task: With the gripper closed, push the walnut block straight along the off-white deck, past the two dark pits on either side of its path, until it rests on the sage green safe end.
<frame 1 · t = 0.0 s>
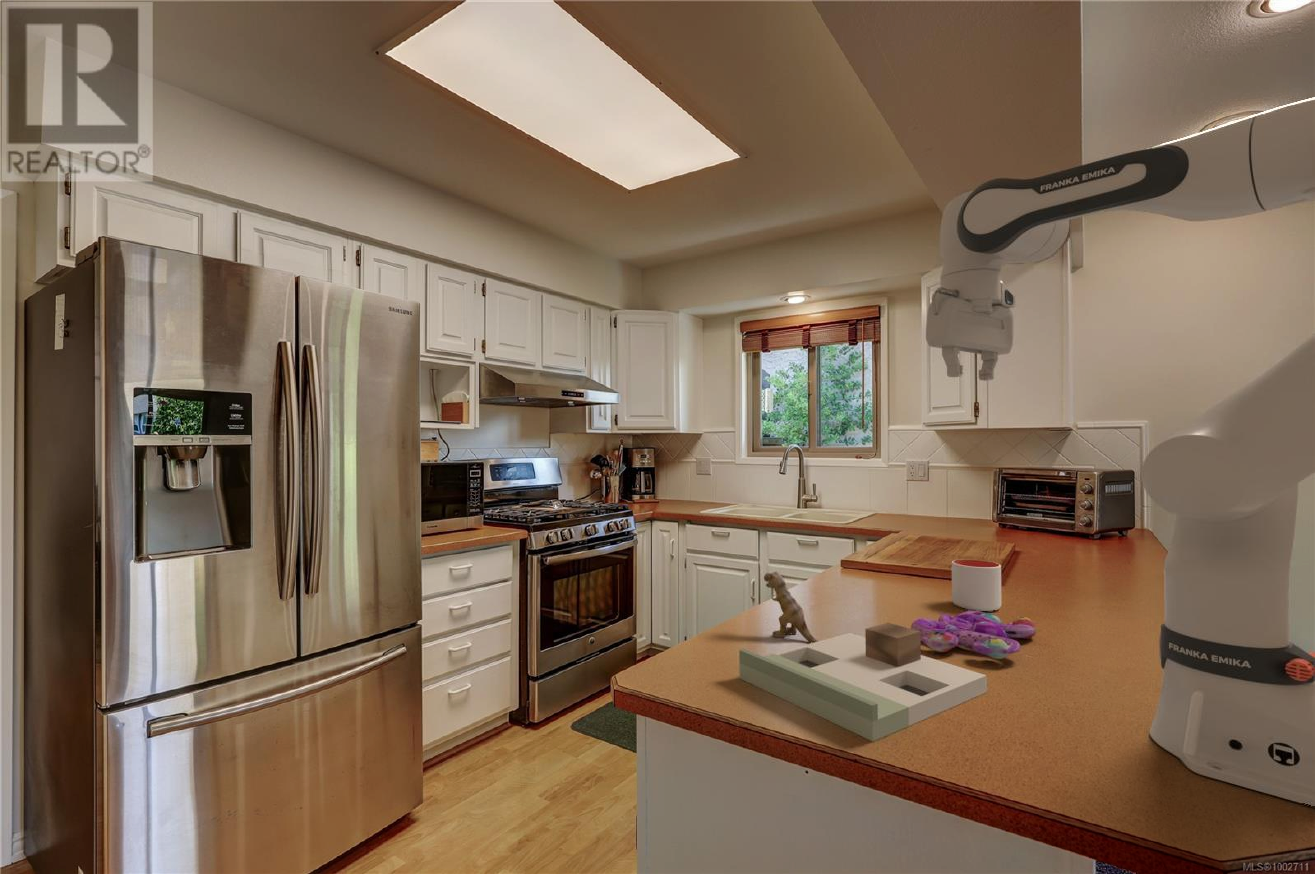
hand: (970, 378, 99), 48 cm above the counter, tool pointing down, fingers open, 8 cm apart
walnut block: (892, 657, 99), point 2 cm above the counter, touching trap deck
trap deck: (859, 685, 94), on the counter
toy: (797, 638, 117), on the counter
cup: (976, 608, 139), on the counter
decorative sculpture: (976, 644, 114), on the counter
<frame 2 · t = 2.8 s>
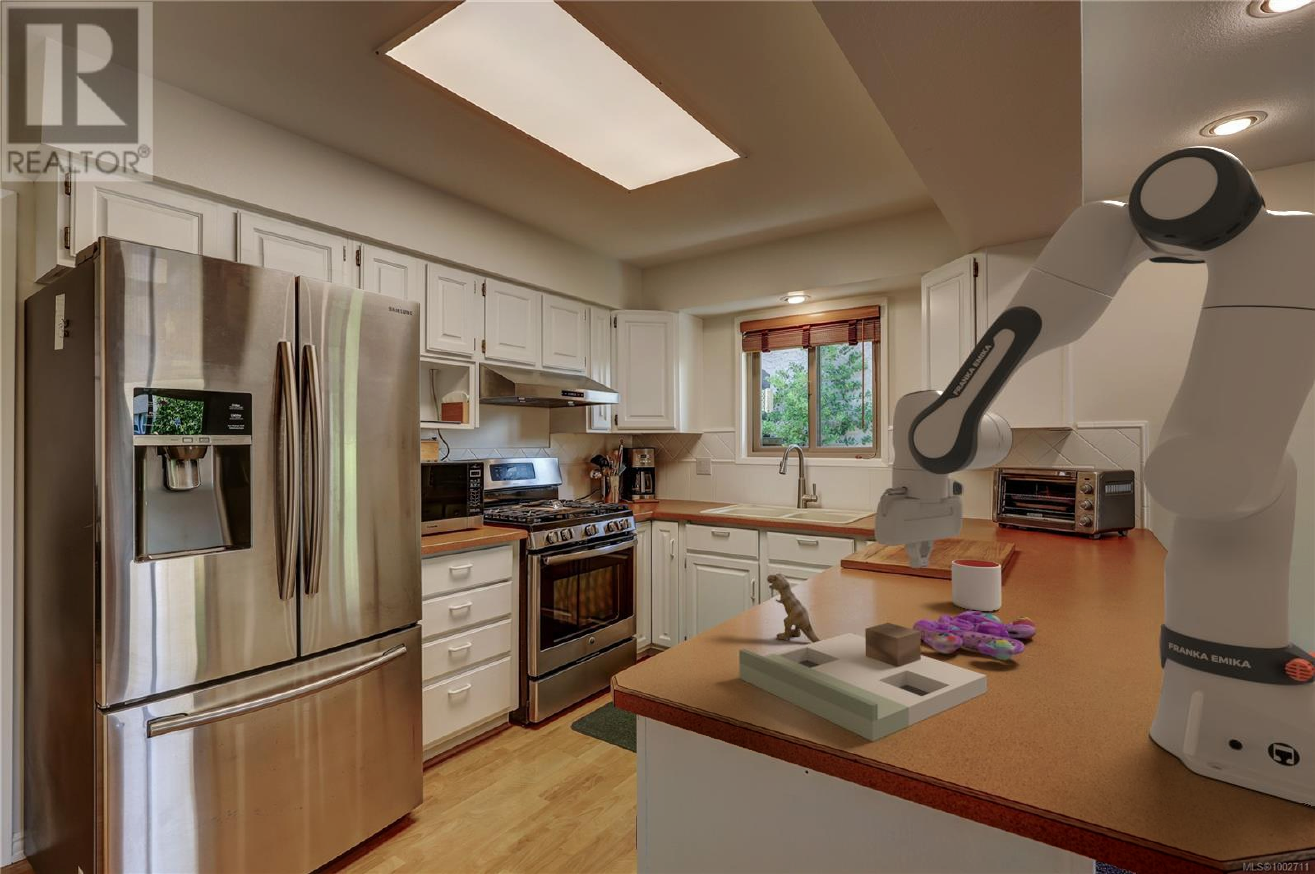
hand: (919, 567, 103), 16 cm above the counter, tool pointing down, fingers closed
toy: (801, 640, 116), on the counter, touching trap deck
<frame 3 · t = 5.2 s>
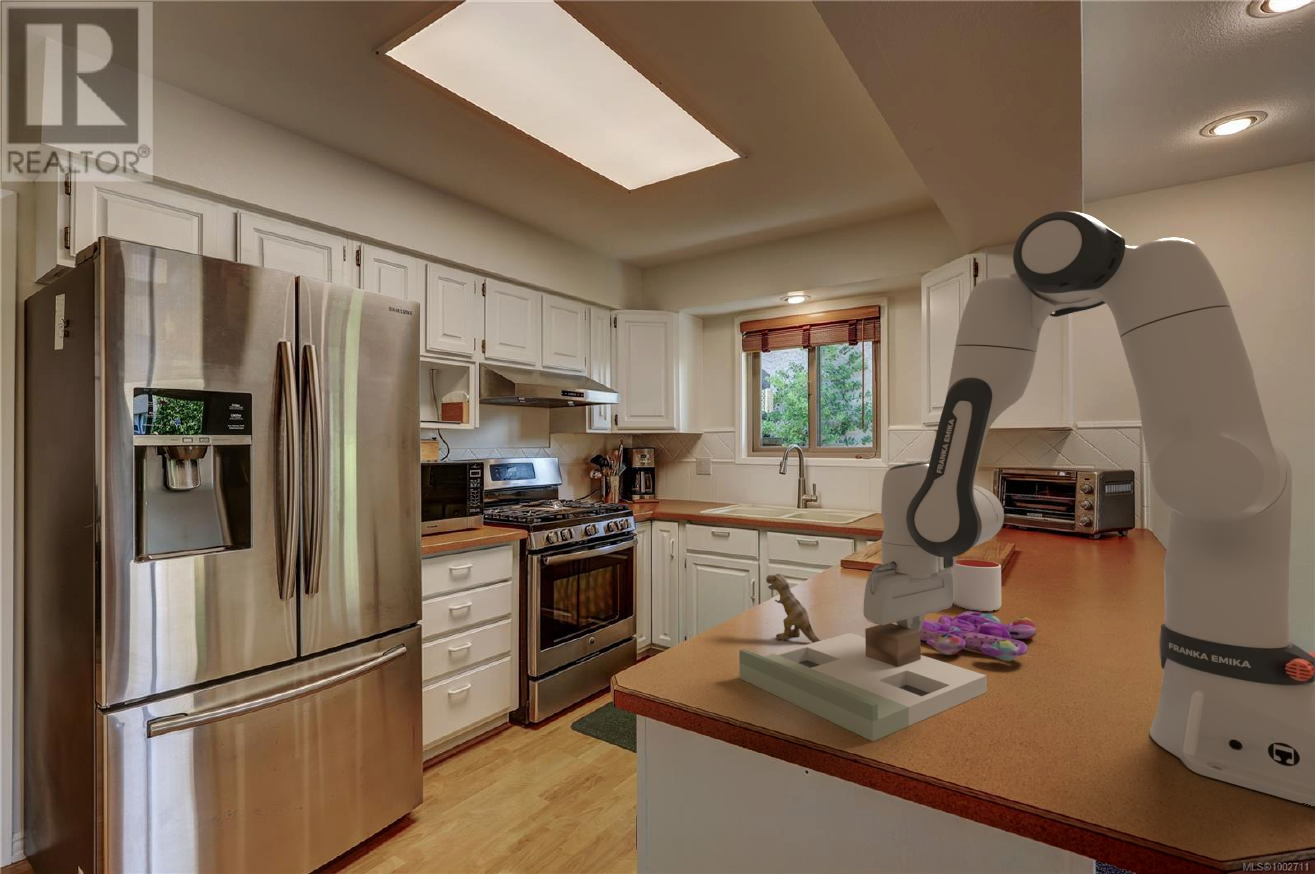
hand: (910, 642, 101), 4 cm above the counter, tool pointing down, fingers closed
walnut block: (892, 657, 99), point 3 cm above the counter, touching gripper, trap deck
toy: (801, 640, 116), on the counter
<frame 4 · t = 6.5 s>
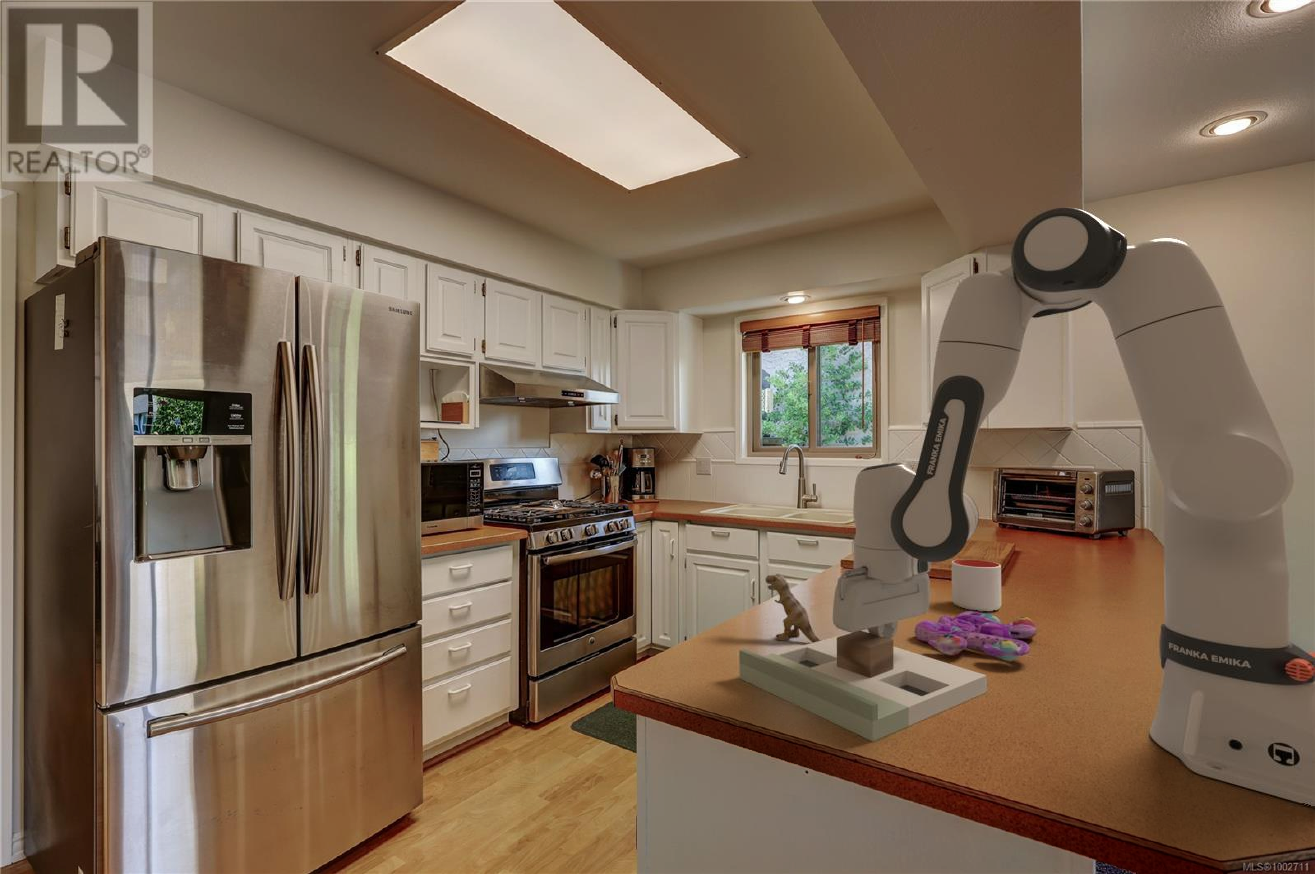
hand: (882, 649, 97), 4 cm above the counter, tool pointing down, fingers closed
walnut block: (864, 667, 94), point 3 cm above the counter, touching gripper, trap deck
toy: (800, 641, 116), on the counter, touching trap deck
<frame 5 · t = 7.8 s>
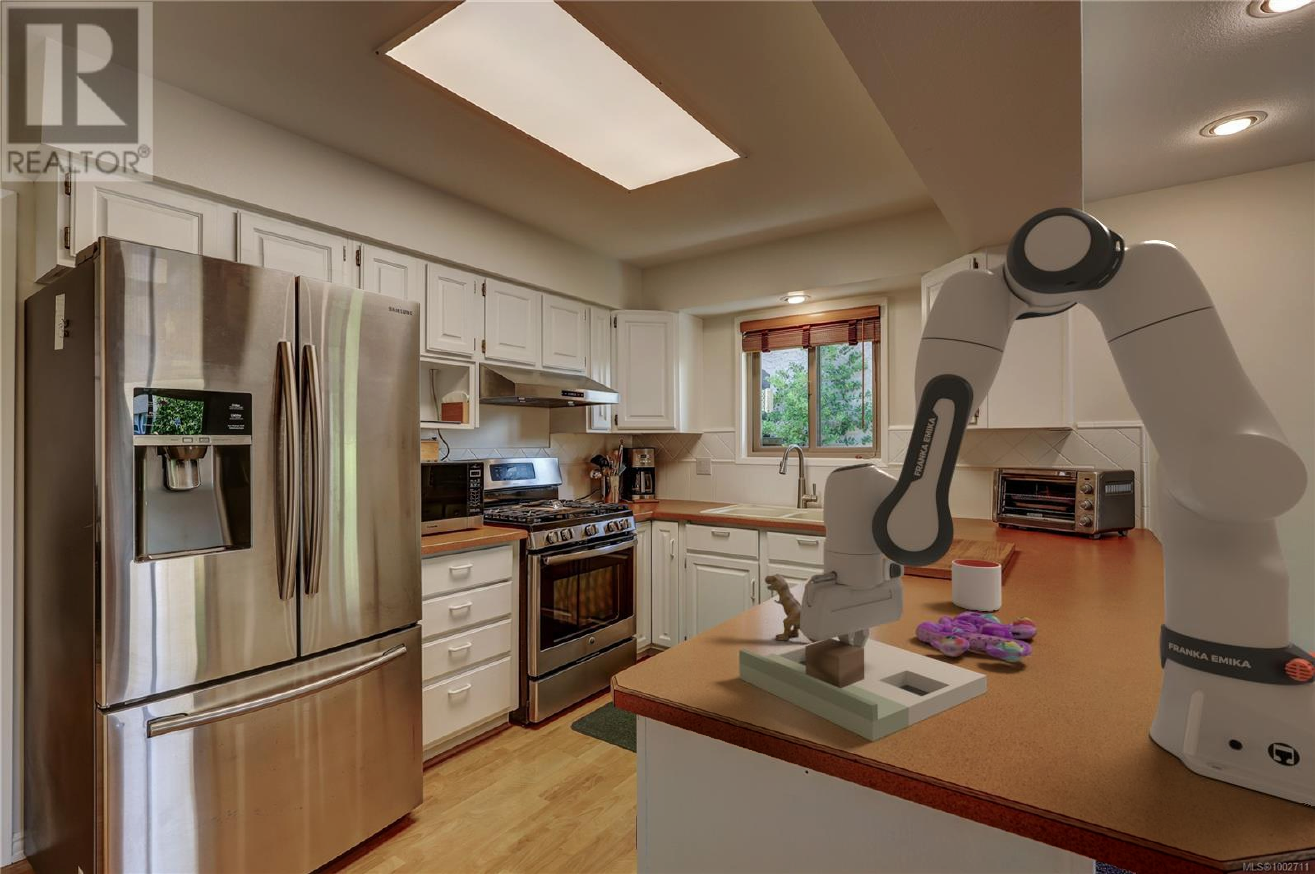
hand: (853, 658, 94), 4 cm above the counter, tool pointing down, fingers closed
walnut block: (834, 677, 90), point 3 cm above the counter, touching gripper, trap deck
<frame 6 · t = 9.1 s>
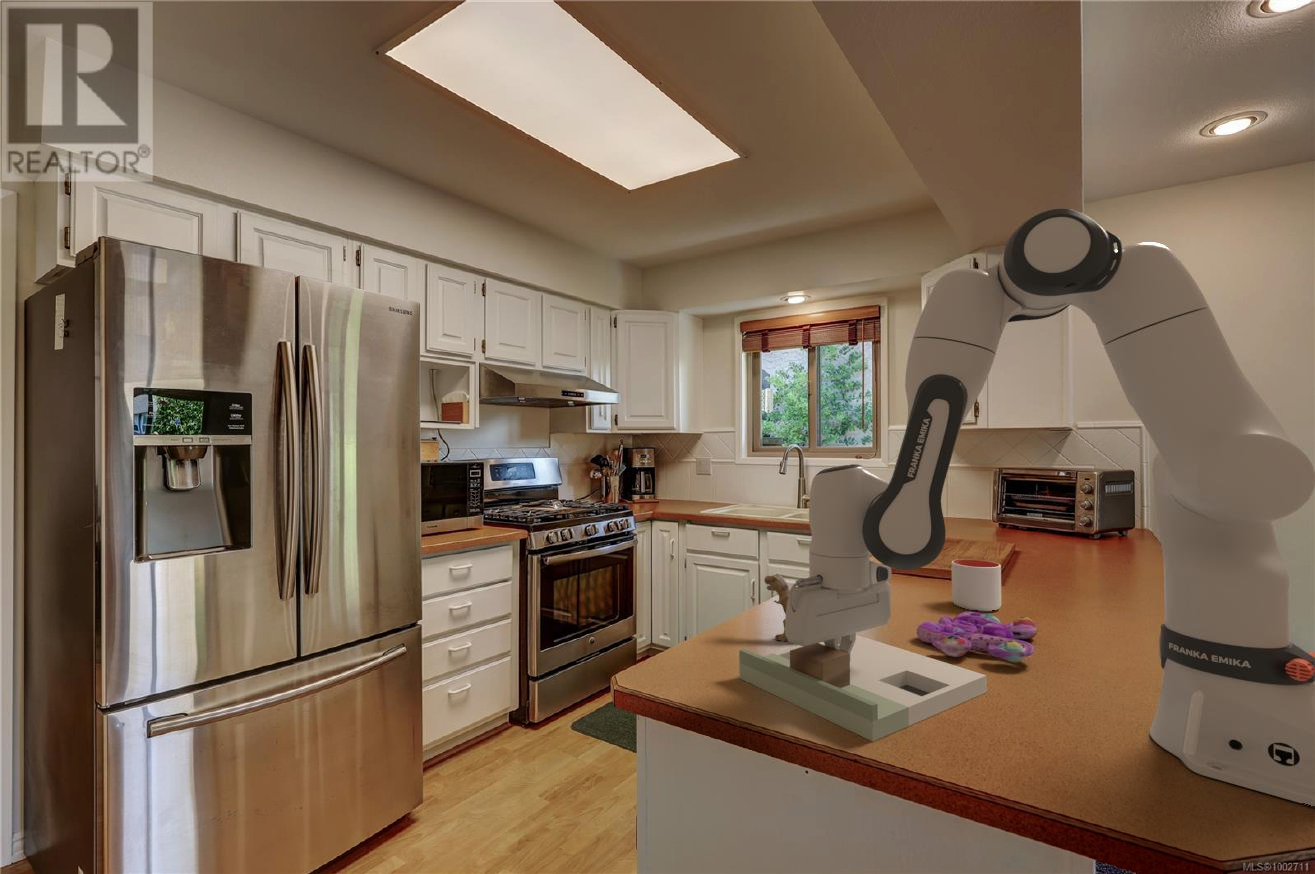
hand: (839, 663, 92), 4 cm above the counter, tool pointing down, fingers closed
walnut block: (819, 683, 88), point 2 cm above the counter, touching gripper, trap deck
toy: (800, 641, 116), on the counter
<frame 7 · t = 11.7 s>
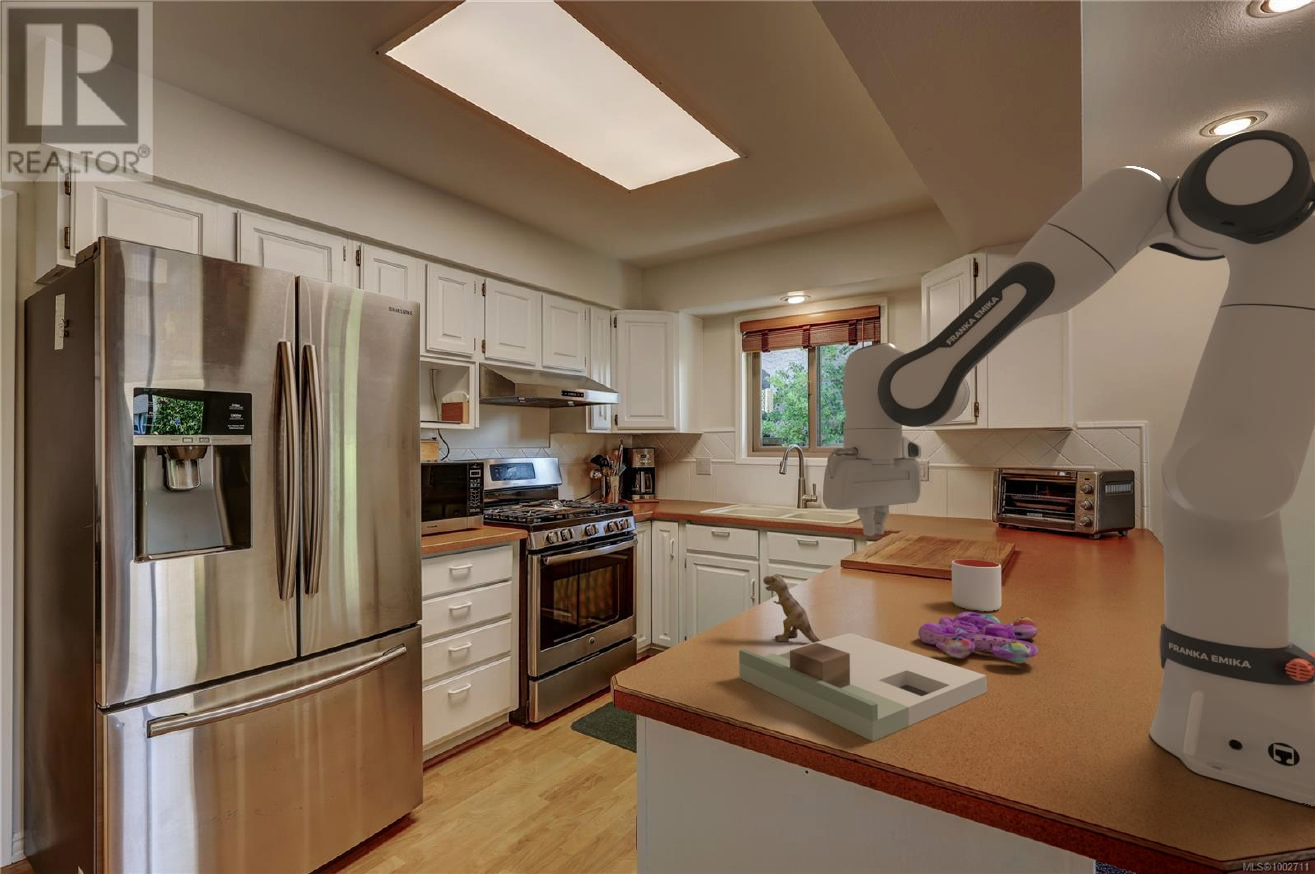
hand: (873, 534, 96), 23 cm above the counter, tool pointing down, fingers closed
walnut block: (819, 683, 88), point 2 cm above the counter, touching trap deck
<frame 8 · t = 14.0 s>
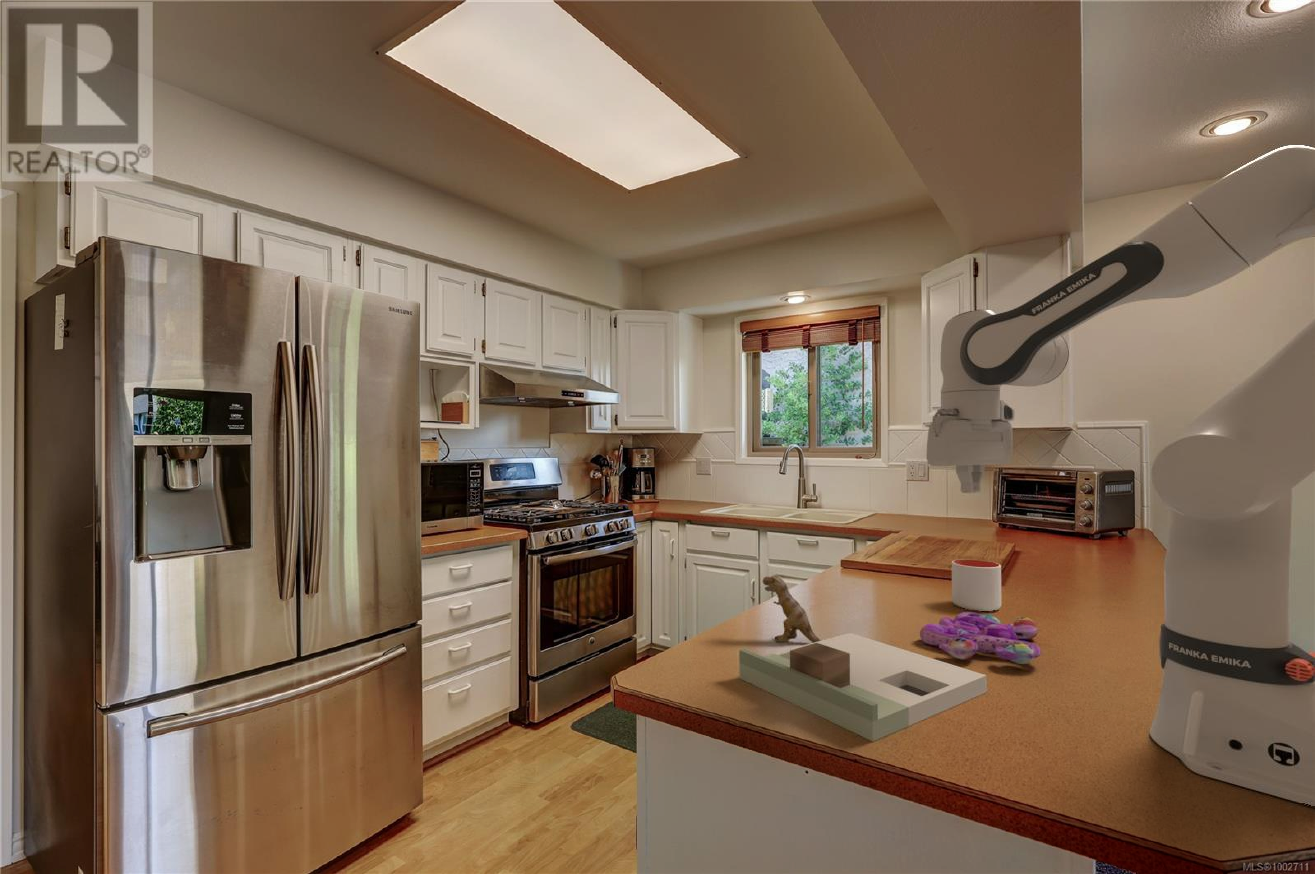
hand: (970, 492, 101), 29 cm above the counter, tool pointing down, fingers closed
at the end: walnut block inside the target area (0.4 cm from its centre), point 2.5 cm above the counter; walnut block tilted 0° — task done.
